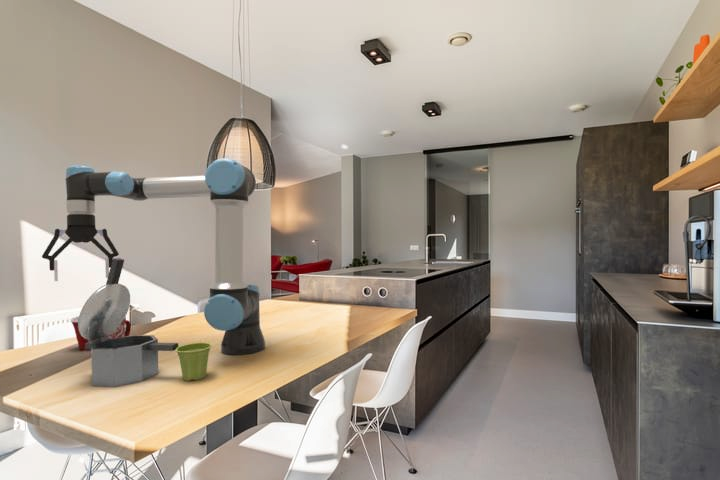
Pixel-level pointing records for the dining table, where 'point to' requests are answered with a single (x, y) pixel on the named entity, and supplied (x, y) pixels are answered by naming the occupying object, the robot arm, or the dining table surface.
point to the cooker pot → (126, 359)
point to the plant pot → (194, 360)
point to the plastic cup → (80, 339)
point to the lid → (105, 307)
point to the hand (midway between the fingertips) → (82, 279)
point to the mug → (121, 330)
